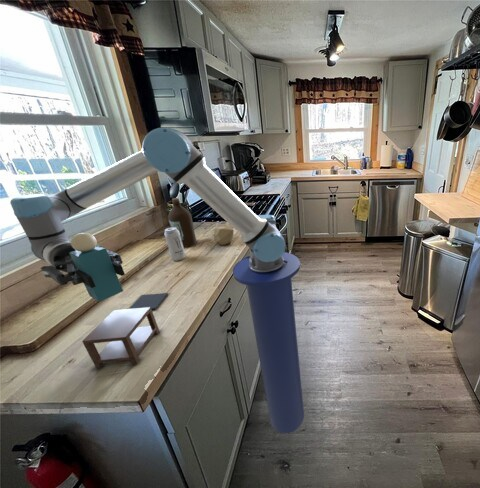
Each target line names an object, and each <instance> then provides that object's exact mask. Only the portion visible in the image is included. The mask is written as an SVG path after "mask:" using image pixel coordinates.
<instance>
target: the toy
mask: <svg viewBox="0 0 480 488" xmlns="http://www.w3.org/2000/svg"><path fill="white" fill-rule="evenodd" d="M70 241H71V246H72V247H73V248H74V249H75V250H76V251H73V252H69V253H70V256H71V258H72V260H73V262H74V264H75V266H76V268H77V270H80V271H82V272H84V273H86V274H88V275H90V276H91V277H92V279H93V282H94V284H95V286H96V287H93V288H91V287H89V286H87V285H85V284H84V283H83V285H84V288H85V289H86V291H87V293H88V295H89V297H90V298H91V299H94V300H95V301H97V302H98V303H99V302H103V301H105V300H107V299H110V298H111V297H114V296H116V295H118V294H120V293H123V292H124V289H123V287H122V284H121V282H120V281H121V280H120V279H119V277H118V274H116V272H115V269H114V267H113V264H112V262H111V259H110V257H109V255H108V252H107V250H108V249H107V250H106V248H107V247H104V246H101V245H98V240H97V238H96V237H95V236H94V235H93V234H92V233H89V232H79V233H76V234H74V235H73V236H72V237H71V239H70Z"/></svg>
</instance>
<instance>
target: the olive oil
mask: <svg viewBox="0 0 480 488" xmlns="http://www.w3.org/2000/svg"><path fill="white" fill-rule="evenodd" d="M171 203H172V208H171V209H170V211H169V213H168V216H167V218H168V222H169V225H170V228H171V227H176V228H177V230H178V231H179V233H180V237H181V240H182V244H183V248H188V247H189V248H190V247H191V246H195V245H196V244H197V238H196V232H195V227H194V222H193V218H192V214H191V212H190V211H189V210H188V209H187V208H186V207H184V206H182V205H181V201H180V198H179V197H174V198H172V199H171Z"/></svg>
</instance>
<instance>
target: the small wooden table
mask: <svg viewBox="0 0 480 488" xmlns="http://www.w3.org/2000/svg"><path fill="white" fill-rule="evenodd" d="M144 319H147V322H148V324H149V325H145V326H140V325H141V324H142V322H143V321H144ZM159 333H160V329H159V326H158V323H157V320H156V317H155V315H154V312H153V310H152V309H151V307H145V308H133V309H129V308H123V309H114V310H112V312H110V313H109V314H108V315H107V316H106V317H105V318H104V319H102V321H101V322H100V323H99V324H98V325H97V326H96V327H95V328H94V329H93V330H92V331H91V332H90V333H89V334H88V335H86V337H85V338H84V339H82V344H83V346H84V348H85V350H86V351H87V353H88V356H89V358H90V359H91V361H92V364H93V366H94V367H95V368H96V369H101V368H102V367H103V366H104V365H105V363H111V362H113V363H114V362H121V361H130V362H131V364H132V365H137V364H139V362H140V361H141V359H140V357H139V355H140V354H141V352H142V351H143V349H144V348H145V346H146V345H147V343H148V342H149V341H150V340H151V338H152V336H153V335H158V334H159ZM98 343H107V345H106V346H104V348H102V350H101V351H100V352H99V350H98V349H97V347H96V345H95V344H98Z"/></svg>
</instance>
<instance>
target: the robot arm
mask: <svg viewBox="0 0 480 488" xmlns="http://www.w3.org/2000/svg"><path fill="white" fill-rule="evenodd" d="M158 172H160V173H165V174H166V175H167V176H168V177H169V178H170V179H171V180H173V181H174V182H175V183H176V184H183V185H186V186H187V187H188V189H190V190H192V192H193V193H194V194H196V195H197V196H198V197H199V198H200V199H201V200H203V202H205V203H206V204H207V205H208V206H209V207H210V208H211V209H212V210H214V212H216V213H217V214H218V215H219V216H220V217H221V218H222V219H224V220H225V222H226V223H228V224H229V225H230V227H232V228H234V229H235V231H237V232H238V233H239V234H240V235H241V241H242V242H243V243H244V244H245V245H246V247H248V248H250V255H249V256H250V259H249V268H250V270H251V271H252V272H255V273H259V274H266V273H272V272H275V271H277V270H279V269H281V268H282V267H283V266H284V262H285V263H287V262H288V261H285V260H284V259H283V257H282V255H283V253H284V252H286V246H287V245H286V240H285V238H284V236H283V235H282V233H281V232H280V231H279V229H278V228H277V224H276V223H277V222H276V217H275V216H274V215H272V214H258V215H257V214H255V213H254V211H253V210H252V209H251V208H250V207H248V206H247V205H246V203H245V202H243V201H242V200H241V199H240V198H239V196H237V195H236V194H235V193H234V192H233V190H232V189H230V187H228V186H227V185H226V184H225V183H224V182H223V181H222V180H221V179H220V178H219V177H218V176H217V175H216V174H215V173H214V172H213V171H212V170H211V169H210V168H209V167H208V166H207V164H206V157H205V156H204V155H203V154H202V153H201V152H200V151H199V150H198V149H197V148H196V146H194V145H193V142H192V140H191V139H190V137H188V136H187V134H185V133H183V132H182V131H180V130H178V129H174V128H170V127H164V126H162V127H157V128H154V129H152V130H151V131H149V132H148V133H147V134H146V135H145V137H144V138H143V140H142V147H141V150H139V151H137V152H135V153H133V154H132V155H130V156H127V157H126V158H125V157H124V158H123V159H121V160H119V161H118V162H115V163H113V164H111V165H110V166H107V167H106V168H103V169H102V170H100V171H98V172H96V173H94V174H92V175H90V176H88V177H86V178H83V179H82V180H80V181H78V182H76V183H74V184H72V185H70V186H68V187H67V188H64V189H62V190H60V191H58V192H56V193H54V194H52V195H50V196H48V195H47V194H44V193H37V194H36V193H35V194H28V195H22V196H17V197H14V198H11V200H10V203H9V204H10V206H11V208H12V210H13V214H14V216H15V217H16V219H17V221H18V222H19V224H20V226H21V228H22V230H23V231H24V233H25V235H26V237H27V239H28V241H29V243H30V250H31V252H32V253H33V255H34V256H35V257H36V258H38V259H39V260H41V261H43V262H45V263H47V264H49V265H44V266H41V267H40V271H42V274H43V275H44V277H45V278H49V279H50V278H51V279H52V280H53V281H55V282H56V283H57V284H59V285H60V286H65V285H68V283H69V282H71V283H72V285H73V286H77V285H80V284H83V285H84V284H85V285H87V286H89V287H91V288H93V287H96V286H95V284H94V282H93V279H92V277H91V276H90V275H88V274H86V273H84V272H82V271H80V270H77V268H76V266H75V264H74V262H73V260H72V258H71V256H70V253H69V252H73V251H76V250H75V249H74V248H73V247H72V246H71V239H70V238H69V236H68V234H67V232H66V229H65V227H64V225H63V223H62V222H64V221H66V220H68V219H69V218H71V217H74V216H75V215H78V214H79V213H81V212H83V211H85V210H87V209H88V208H90V207H92V206H94V205H96V204H98V203H101V201H104V200H106V199H108V198H109V197H111V196H113V195H115V194H117V193H119V192H122V191H123V190H125V189H127V188H129V187H131V186H133V185H134V184H137V183H139V182H140V181H142V180H145V179H147V178H148V177H150V176H152V175H155V174H156V173H158ZM105 248H106V250H107V252H108V255H109V257H110V259H111V262H112V264H113V267H114V269H115V272H116V274H117V276H121V277H122V276H125V275H126V273H125V271H124V267H123V266H122V264H123V263H124V261H123V259H122V256H121V254H120V253H117V252H114V251H111V250H109V249H108V248H107V247H105ZM63 272H65V273H66V274H64V273H63ZM85 285H84V286H85Z"/></svg>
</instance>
